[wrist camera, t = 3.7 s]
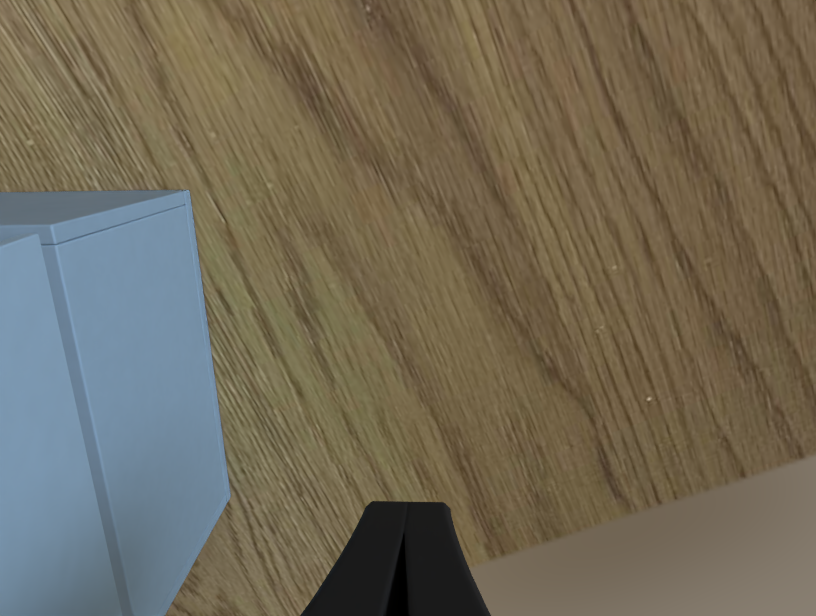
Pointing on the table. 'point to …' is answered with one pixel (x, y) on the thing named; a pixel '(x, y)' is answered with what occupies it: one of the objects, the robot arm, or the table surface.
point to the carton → (136, 374)
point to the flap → (43, 458)
